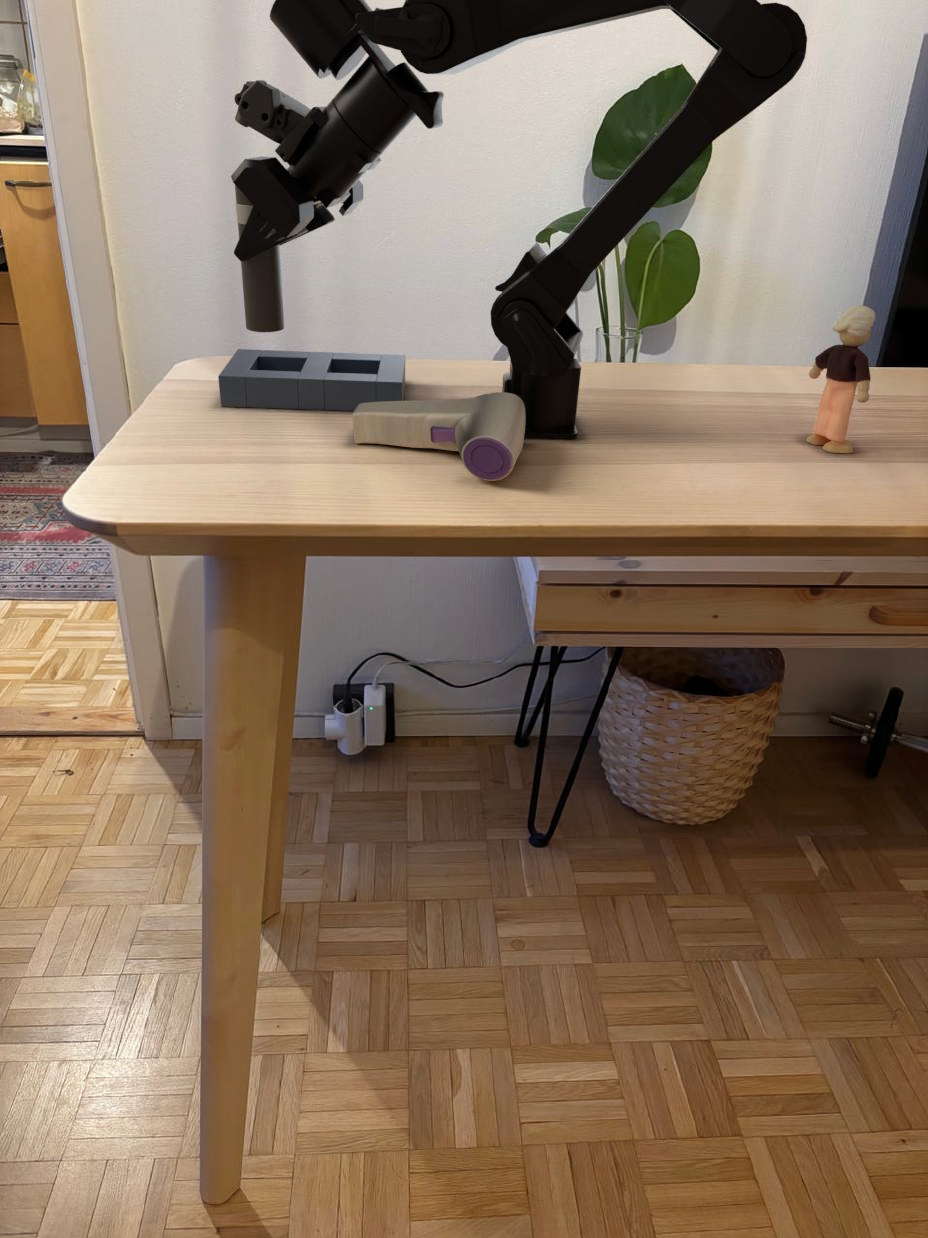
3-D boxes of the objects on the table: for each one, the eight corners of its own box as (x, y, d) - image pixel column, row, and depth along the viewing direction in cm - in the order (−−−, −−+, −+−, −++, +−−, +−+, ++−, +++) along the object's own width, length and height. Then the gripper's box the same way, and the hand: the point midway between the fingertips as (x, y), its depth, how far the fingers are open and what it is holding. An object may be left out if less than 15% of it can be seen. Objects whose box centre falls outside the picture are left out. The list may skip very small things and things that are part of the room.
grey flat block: (405, 383, 99) (405, 354, 97) (401, 412, 90) (402, 382, 88) (240, 377, 98) (237, 348, 96) (220, 406, 89) (218, 375, 88)
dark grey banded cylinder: (292, 328, 89) (285, 185, 83) (262, 334, 86) (252, 187, 80) (267, 321, 91) (258, 181, 85) (237, 327, 88) (225, 183, 82)
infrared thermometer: (364, 437, 86) (525, 439, 84) (336, 487, 76) (519, 489, 74) (360, 389, 84) (526, 389, 82) (331, 433, 73) (520, 434, 72)
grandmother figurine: (872, 453, 85) (912, 313, 79) (845, 460, 84) (883, 316, 77) (807, 428, 91) (839, 295, 85) (780, 434, 89) (810, 298, 83)
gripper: (327, 47, 84) (225, 174, 91) (245, 38, 68) (129, 192, 76) (410, 149, 87) (304, 264, 94) (350, 163, 71) (228, 300, 78)
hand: (246, 253), depth 86 cm, fingers closed on dark grey banded cylinder, 3 cm apart
